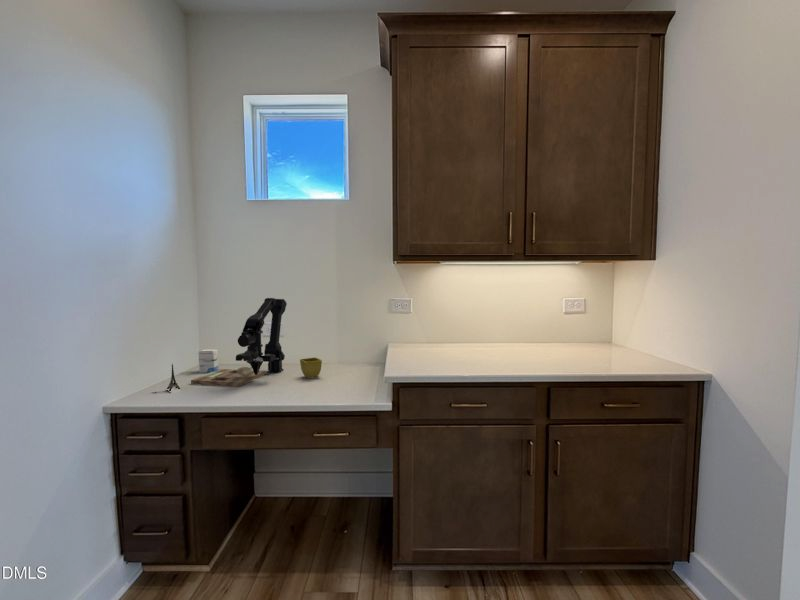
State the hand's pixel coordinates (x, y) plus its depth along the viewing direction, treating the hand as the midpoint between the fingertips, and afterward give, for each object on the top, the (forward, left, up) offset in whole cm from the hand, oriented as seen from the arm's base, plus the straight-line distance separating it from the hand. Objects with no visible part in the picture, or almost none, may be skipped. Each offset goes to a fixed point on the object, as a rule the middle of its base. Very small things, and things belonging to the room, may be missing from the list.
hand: (256, 374), depth 205 cm
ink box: (+36, -13, -3) cm, 38 cm away
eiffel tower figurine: (+30, +22, -4) cm, 37 cm away
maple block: (+6, 0, -1) cm, 6 cm away
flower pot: (-24, -11, -3) cm, 27 cm away
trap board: (+15, 0, -3) cm, 15 cm away
